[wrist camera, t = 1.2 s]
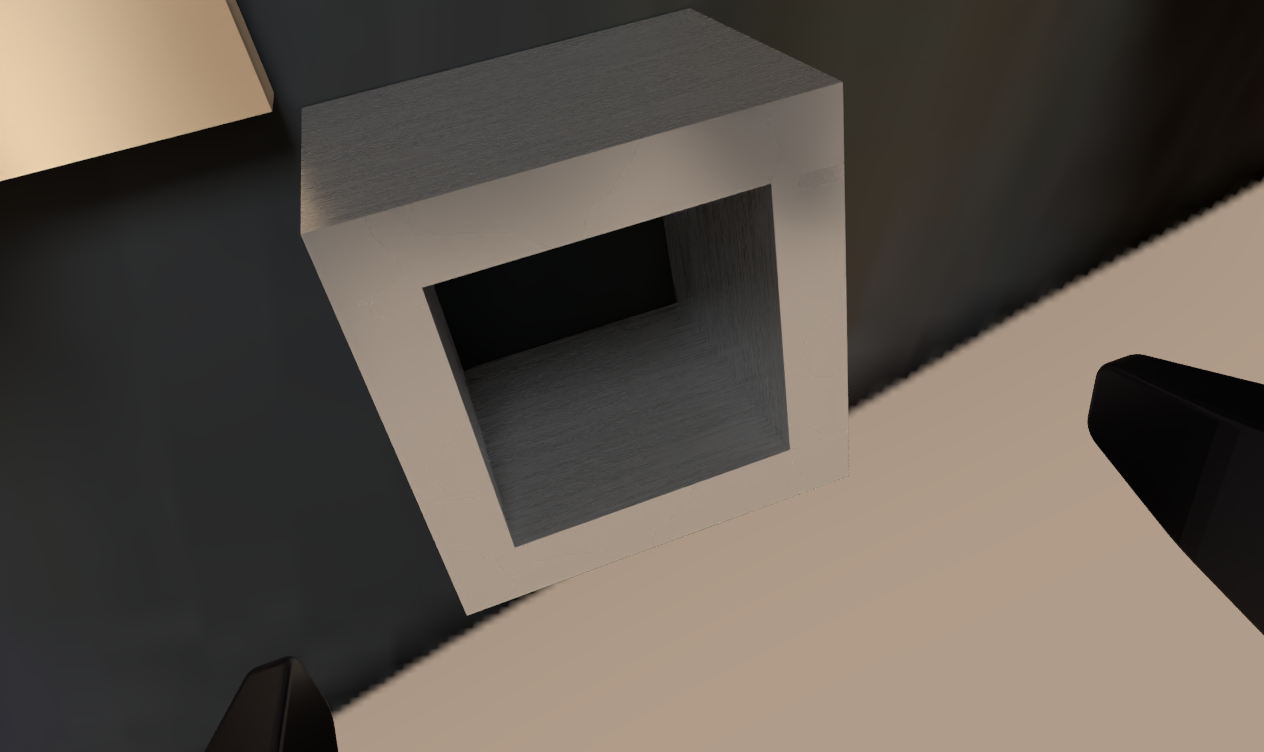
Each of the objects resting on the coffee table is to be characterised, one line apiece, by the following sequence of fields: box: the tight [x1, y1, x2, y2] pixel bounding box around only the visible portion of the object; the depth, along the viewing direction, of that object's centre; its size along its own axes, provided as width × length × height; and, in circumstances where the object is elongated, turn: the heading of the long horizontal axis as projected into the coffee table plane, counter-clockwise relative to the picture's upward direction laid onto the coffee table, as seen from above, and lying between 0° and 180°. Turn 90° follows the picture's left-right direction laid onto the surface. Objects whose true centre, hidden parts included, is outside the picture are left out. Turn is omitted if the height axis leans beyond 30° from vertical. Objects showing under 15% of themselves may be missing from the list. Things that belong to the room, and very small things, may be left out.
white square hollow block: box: [301, 8, 849, 615], centre depth 13 cm, size 6×6×5 cm
